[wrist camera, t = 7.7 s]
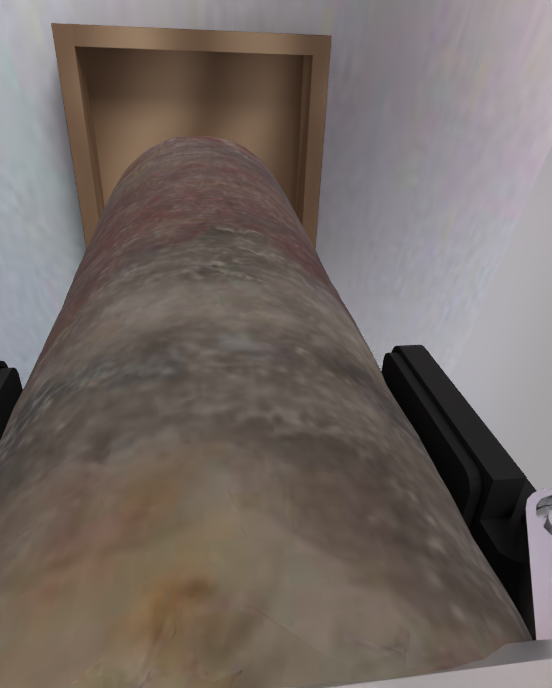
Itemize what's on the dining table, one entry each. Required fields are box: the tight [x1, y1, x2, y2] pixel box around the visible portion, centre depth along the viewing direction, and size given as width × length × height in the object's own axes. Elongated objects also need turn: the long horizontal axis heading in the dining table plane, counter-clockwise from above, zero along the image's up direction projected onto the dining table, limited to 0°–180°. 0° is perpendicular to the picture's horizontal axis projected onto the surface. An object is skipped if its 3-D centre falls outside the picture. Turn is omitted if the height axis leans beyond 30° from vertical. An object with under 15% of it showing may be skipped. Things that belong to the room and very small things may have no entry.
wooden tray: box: [51, 23, 331, 249], centre depth 33 cm, size 15×16×4 cm
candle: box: [0, 136, 533, 688], centre depth 13 cm, size 8×7×20 cm
